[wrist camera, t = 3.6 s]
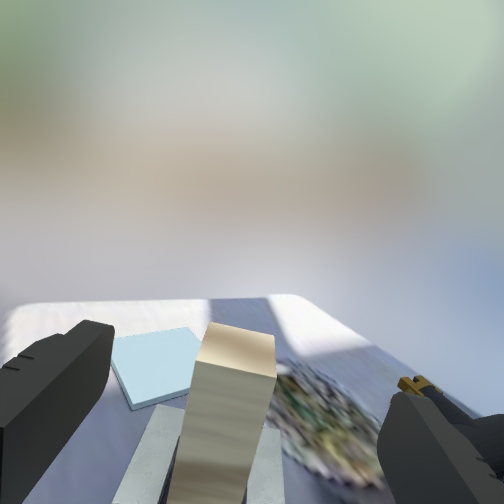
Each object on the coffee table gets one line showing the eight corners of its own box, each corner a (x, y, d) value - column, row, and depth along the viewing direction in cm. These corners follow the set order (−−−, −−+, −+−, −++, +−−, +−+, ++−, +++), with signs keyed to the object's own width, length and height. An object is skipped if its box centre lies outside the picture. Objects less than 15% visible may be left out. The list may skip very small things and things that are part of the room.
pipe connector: (371, 376, 37) (448, 368, 44) (357, 411, 39) (434, 399, 45) (461, 464, 28) (545, 438, 34) (439, 507, 29) (523, 474, 35)
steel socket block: (280, 623, 19) (291, 595, 18) (84, 584, 18) (88, 554, 18) (273, 450, 30) (279, 430, 30) (153, 425, 30) (157, 403, 29)
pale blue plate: (229, 380, 39) (230, 375, 38) (132, 410, 31) (133, 404, 31) (186, 331, 47) (187, 326, 47) (102, 345, 40) (103, 340, 40)
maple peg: (229, 544, 22) (276, 377, 18) (160, 530, 22) (195, 360, 18) (235, 477, 27) (273, 335, 23) (179, 465, 27) (209, 321, 23)
